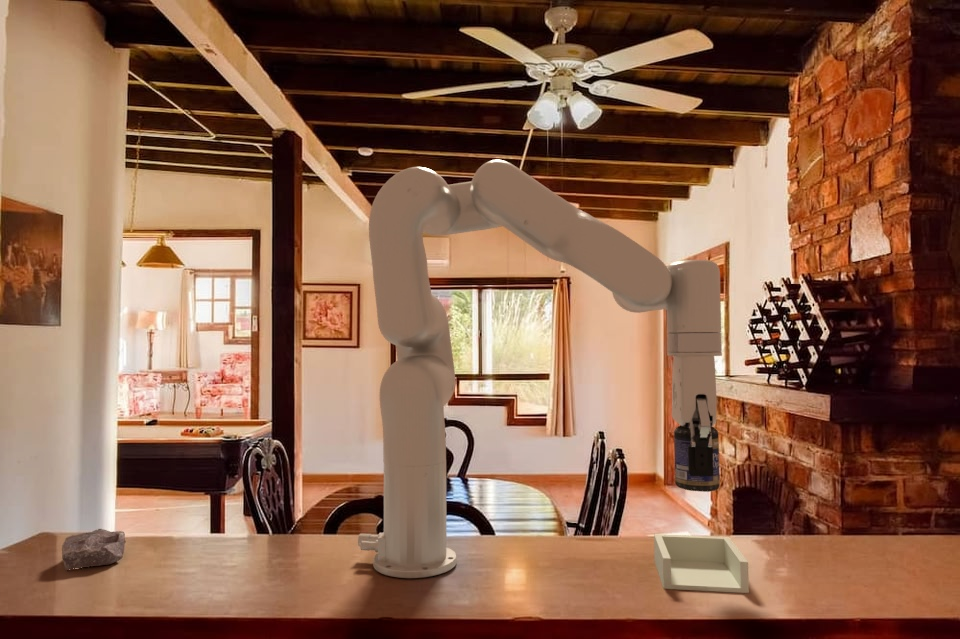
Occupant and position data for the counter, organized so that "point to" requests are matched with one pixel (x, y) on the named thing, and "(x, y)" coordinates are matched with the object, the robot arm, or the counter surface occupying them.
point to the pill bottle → (681, 462)
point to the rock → (93, 549)
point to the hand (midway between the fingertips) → (696, 469)
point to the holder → (700, 563)
